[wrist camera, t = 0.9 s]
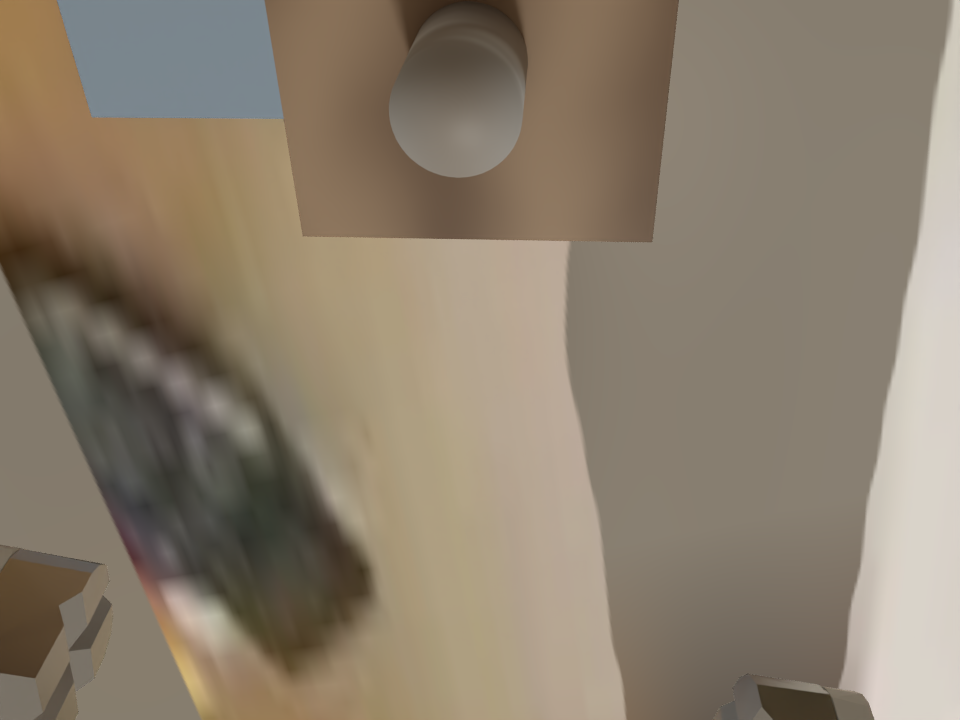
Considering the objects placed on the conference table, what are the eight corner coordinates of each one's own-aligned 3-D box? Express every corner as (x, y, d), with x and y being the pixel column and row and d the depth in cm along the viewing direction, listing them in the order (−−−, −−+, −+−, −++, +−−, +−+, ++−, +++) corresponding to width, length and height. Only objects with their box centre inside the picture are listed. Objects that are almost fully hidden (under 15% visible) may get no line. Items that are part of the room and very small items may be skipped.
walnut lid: (693, -180, 21) (724, -157, 17) (649, 230, 27) (664, 313, 23) (246, -171, 21) (178, -148, 18) (308, 224, 28) (268, 304, 24)
